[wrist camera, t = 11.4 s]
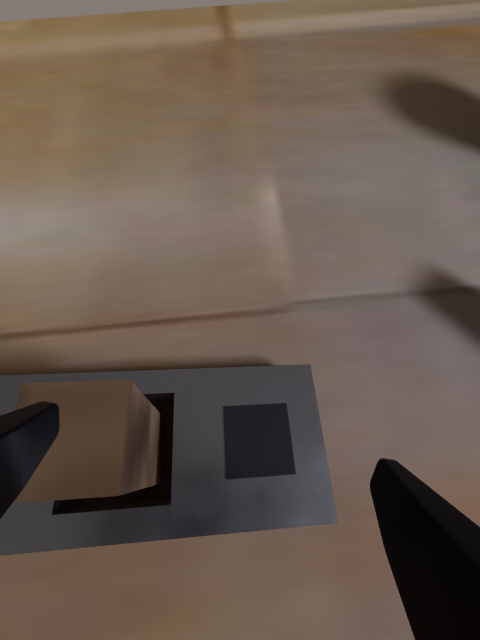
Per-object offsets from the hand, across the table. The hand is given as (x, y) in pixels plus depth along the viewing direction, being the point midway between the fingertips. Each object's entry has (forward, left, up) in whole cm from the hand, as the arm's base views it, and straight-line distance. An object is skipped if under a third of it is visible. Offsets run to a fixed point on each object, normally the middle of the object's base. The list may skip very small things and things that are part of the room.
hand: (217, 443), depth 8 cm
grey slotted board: (-2, +5, -13) cm, 14 cm away
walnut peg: (-2, +5, -13) cm, 14 cm away
